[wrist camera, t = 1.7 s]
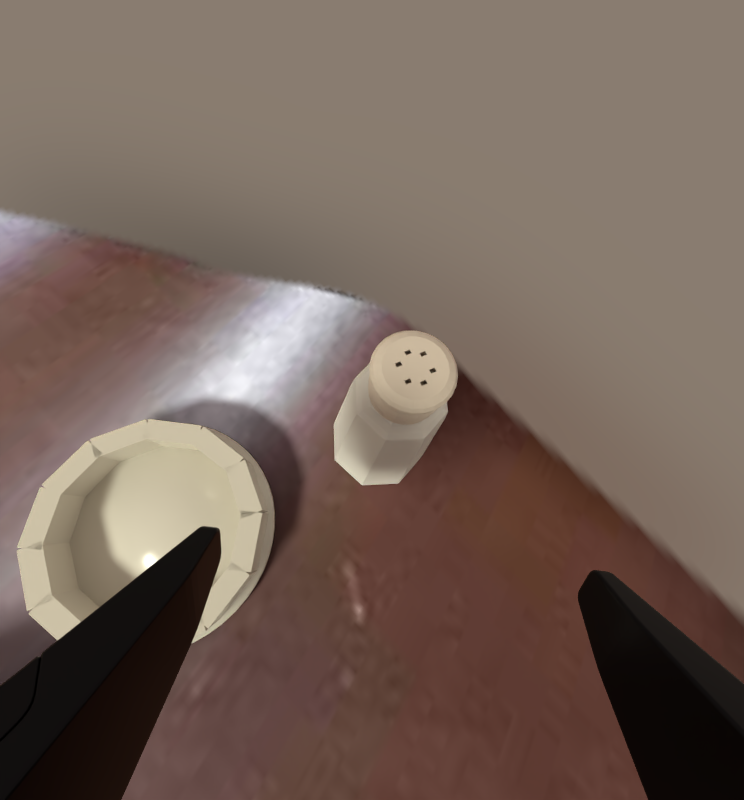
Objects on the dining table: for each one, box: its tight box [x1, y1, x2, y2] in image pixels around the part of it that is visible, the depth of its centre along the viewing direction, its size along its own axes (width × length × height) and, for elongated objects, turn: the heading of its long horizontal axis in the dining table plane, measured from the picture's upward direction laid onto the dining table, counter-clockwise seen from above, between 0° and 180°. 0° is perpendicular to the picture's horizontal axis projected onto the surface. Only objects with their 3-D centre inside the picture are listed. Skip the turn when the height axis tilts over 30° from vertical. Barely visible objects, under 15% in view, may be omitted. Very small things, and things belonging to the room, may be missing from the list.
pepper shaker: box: [334, 331, 458, 485], centre depth 17 cm, size 5×5×11 cm
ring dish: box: [17, 419, 275, 643], centre depth 18 cm, size 11×11×2 cm
